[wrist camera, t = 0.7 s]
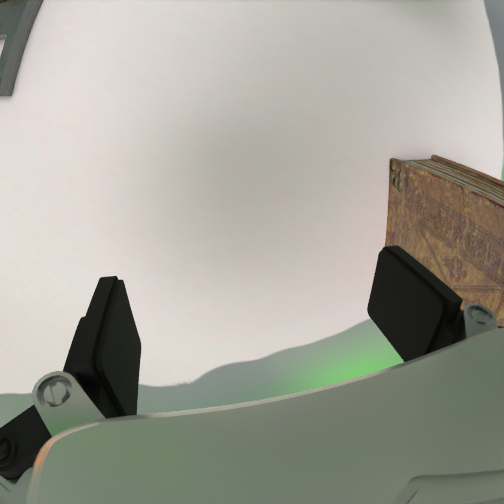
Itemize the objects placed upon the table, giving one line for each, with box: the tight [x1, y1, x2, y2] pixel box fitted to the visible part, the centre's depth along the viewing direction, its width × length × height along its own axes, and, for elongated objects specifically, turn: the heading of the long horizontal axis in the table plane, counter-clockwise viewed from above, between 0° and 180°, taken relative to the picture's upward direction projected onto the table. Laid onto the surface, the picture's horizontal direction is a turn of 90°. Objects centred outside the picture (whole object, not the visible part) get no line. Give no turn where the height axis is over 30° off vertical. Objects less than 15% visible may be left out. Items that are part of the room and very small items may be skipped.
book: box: [385, 155, 504, 327], centre depth 33 cm, size 25×9×30 cm, turn 6°
